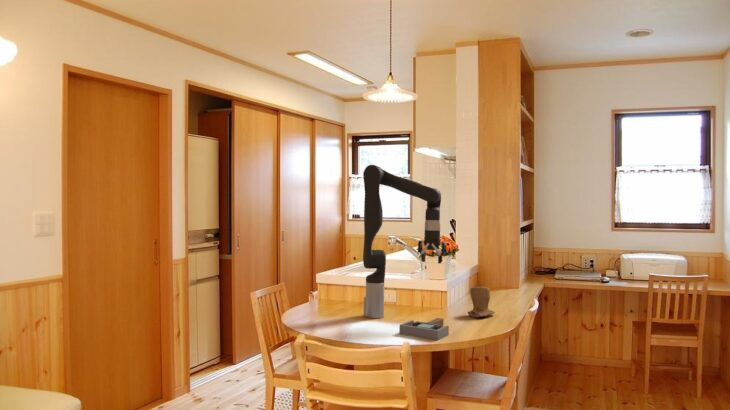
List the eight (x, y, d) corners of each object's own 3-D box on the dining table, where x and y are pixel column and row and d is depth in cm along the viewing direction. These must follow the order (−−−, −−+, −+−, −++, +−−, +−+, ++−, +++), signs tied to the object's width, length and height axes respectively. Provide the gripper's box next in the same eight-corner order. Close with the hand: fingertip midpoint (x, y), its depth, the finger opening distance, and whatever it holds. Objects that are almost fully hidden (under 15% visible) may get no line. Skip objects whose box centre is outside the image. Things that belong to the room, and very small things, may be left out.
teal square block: (416, 335, 250) (416, 326, 250) (422, 332, 255) (422, 323, 255) (428, 337, 247) (428, 328, 247) (434, 334, 252) (434, 325, 252)
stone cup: (478, 311, 301) (479, 283, 300) (498, 315, 292) (498, 286, 292) (461, 315, 290) (461, 286, 290) (480, 319, 282) (481, 289, 281)
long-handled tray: (412, 332, 254) (412, 323, 254) (428, 325, 268) (428, 316, 268) (437, 336, 248) (437, 326, 248) (452, 328, 262) (452, 319, 262)
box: (399, 333, 251) (399, 324, 251) (411, 328, 260) (411, 320, 260) (437, 340, 241) (437, 330, 241) (448, 334, 250) (448, 325, 250)
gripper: (415, 228, 279) (415, 262, 279) (442, 230, 271) (441, 264, 272) (422, 228, 285) (422, 260, 286) (449, 229, 278) (448, 263, 278)
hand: (431, 262), depth 279 cm, fingers open, 8 cm apart
